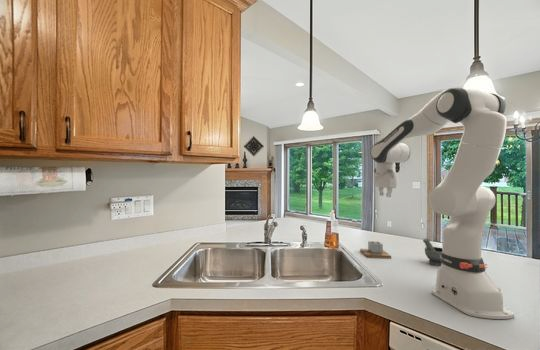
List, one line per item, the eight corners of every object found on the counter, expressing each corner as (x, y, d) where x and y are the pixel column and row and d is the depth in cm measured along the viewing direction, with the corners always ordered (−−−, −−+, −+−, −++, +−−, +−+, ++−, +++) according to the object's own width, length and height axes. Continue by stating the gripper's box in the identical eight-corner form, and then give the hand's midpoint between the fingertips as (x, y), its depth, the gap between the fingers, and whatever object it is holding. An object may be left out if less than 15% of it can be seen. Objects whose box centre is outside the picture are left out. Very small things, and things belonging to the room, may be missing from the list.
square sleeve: (382, 254, 136) (382, 244, 136) (371, 253, 136) (371, 244, 136) (378, 250, 141) (378, 241, 141) (368, 250, 142) (368, 241, 142)
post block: (391, 258, 132) (391, 246, 132) (367, 257, 133) (367, 245, 133) (382, 251, 144) (382, 240, 144) (360, 250, 145) (360, 239, 145)
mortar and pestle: (440, 260, 130) (441, 236, 130) (453, 267, 120) (453, 241, 120) (417, 260, 130) (418, 236, 130) (428, 266, 121) (429, 240, 121)
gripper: (400, 169, 126) (399, 198, 126) (384, 170, 146) (384, 194, 146) (386, 169, 126) (386, 197, 126) (372, 170, 147) (372, 194, 147)
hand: (385, 196), depth 136 cm, fingers open, 8 cm apart
